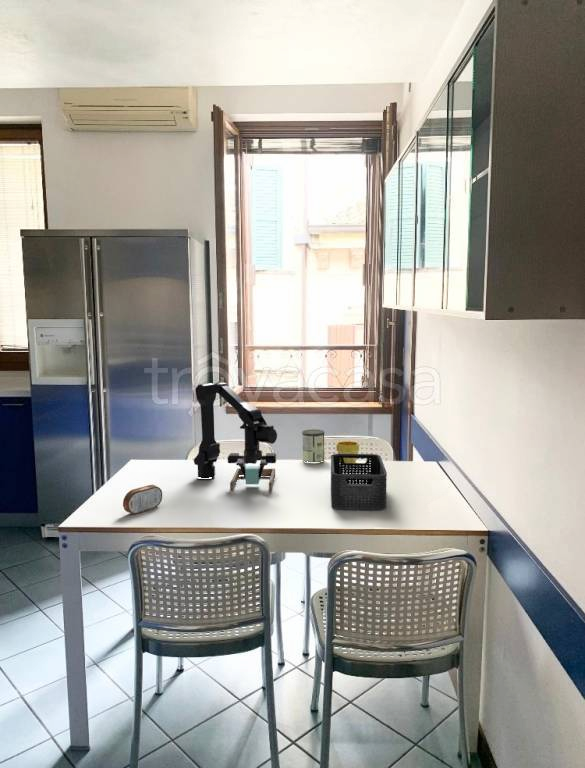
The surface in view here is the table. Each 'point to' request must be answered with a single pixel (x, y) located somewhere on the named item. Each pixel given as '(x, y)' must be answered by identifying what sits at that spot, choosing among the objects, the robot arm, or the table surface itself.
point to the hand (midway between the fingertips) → (252, 479)
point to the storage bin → (347, 485)
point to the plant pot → (348, 449)
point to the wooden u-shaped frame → (264, 473)
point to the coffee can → (313, 445)
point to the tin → (142, 499)
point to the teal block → (252, 475)
